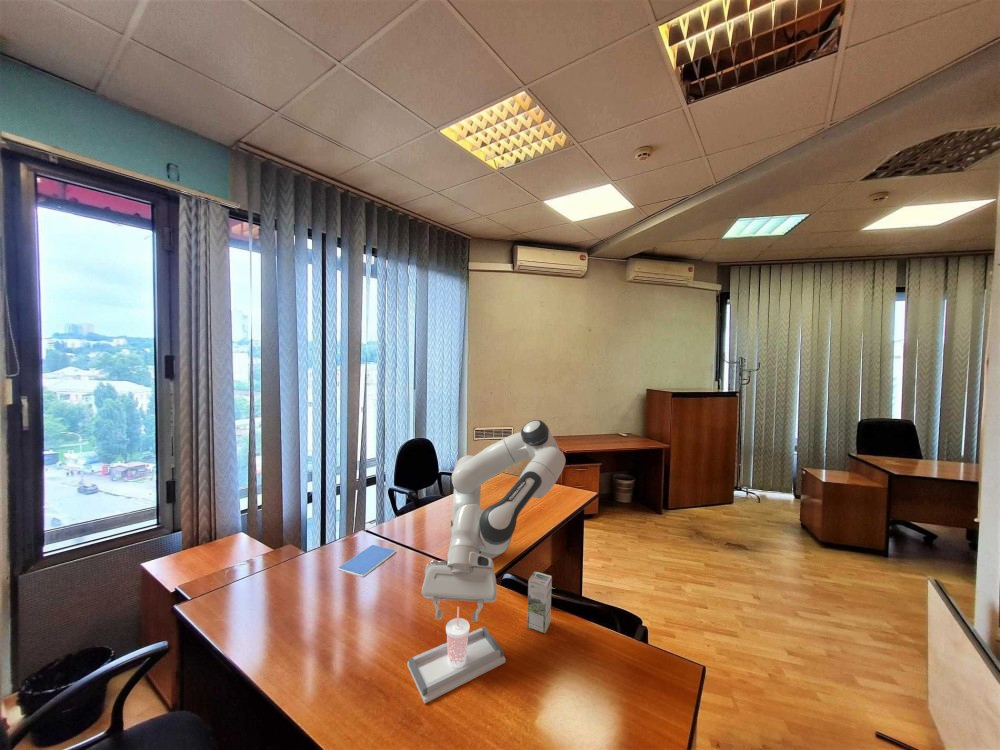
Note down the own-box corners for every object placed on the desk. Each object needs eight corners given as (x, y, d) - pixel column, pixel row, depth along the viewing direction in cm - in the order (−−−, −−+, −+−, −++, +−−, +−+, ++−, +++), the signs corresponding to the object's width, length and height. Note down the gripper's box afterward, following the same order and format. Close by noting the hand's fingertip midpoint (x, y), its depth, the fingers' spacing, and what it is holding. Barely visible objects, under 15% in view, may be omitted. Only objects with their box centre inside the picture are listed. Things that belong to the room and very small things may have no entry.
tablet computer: (363, 579, 128) (363, 575, 128) (336, 571, 132) (336, 567, 132) (397, 553, 146) (397, 550, 146) (372, 547, 150) (372, 544, 150)
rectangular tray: (482, 632, 103) (482, 624, 103) (505, 662, 93) (505, 652, 93) (407, 665, 91) (407, 656, 91) (424, 703, 81) (424, 693, 81)
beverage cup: (472, 665, 90) (473, 611, 90) (449, 674, 88) (450, 618, 87) (464, 648, 96) (465, 596, 95) (441, 655, 93) (443, 602, 93)
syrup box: (551, 622, 108) (552, 574, 108) (545, 635, 103) (546, 585, 102) (533, 616, 110) (534, 569, 110) (526, 628, 105) (527, 579, 105)
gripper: (425, 556, 100) (414, 615, 90) (498, 560, 99) (494, 620, 89) (428, 563, 104) (418, 619, 95) (498, 567, 103) (495, 624, 94)
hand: (456, 620), depth 92 cm, fingers open, 8 cm apart
